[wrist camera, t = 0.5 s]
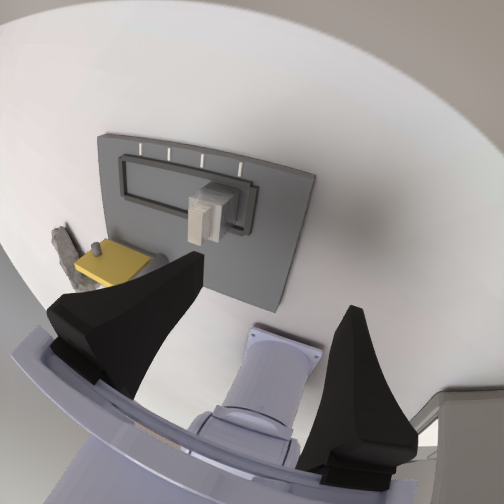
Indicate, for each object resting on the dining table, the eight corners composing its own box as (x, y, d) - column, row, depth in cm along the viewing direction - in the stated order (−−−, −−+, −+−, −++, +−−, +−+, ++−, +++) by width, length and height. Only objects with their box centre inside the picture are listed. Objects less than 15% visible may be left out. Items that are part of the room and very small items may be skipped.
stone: (93, 293, 39) (76, 308, 35) (53, 231, 35) (34, 244, 32) (107, 285, 35) (88, 303, 32) (62, 215, 32) (40, 229, 28)
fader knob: (235, 223, 21) (210, 252, 18) (207, 214, 21) (178, 240, 18) (239, 189, 19) (213, 214, 16) (210, 182, 20) (178, 204, 17)
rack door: (151, 263, 26) (120, 294, 22) (106, 244, 28) (76, 269, 24) (150, 248, 25) (116, 279, 21) (104, 229, 26) (71, 254, 23)
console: (278, 304, 26) (253, 364, 20) (116, 241, 30) (74, 276, 24) (315, 174, 18) (293, 218, 13) (105, 133, 22) (47, 156, 17)
